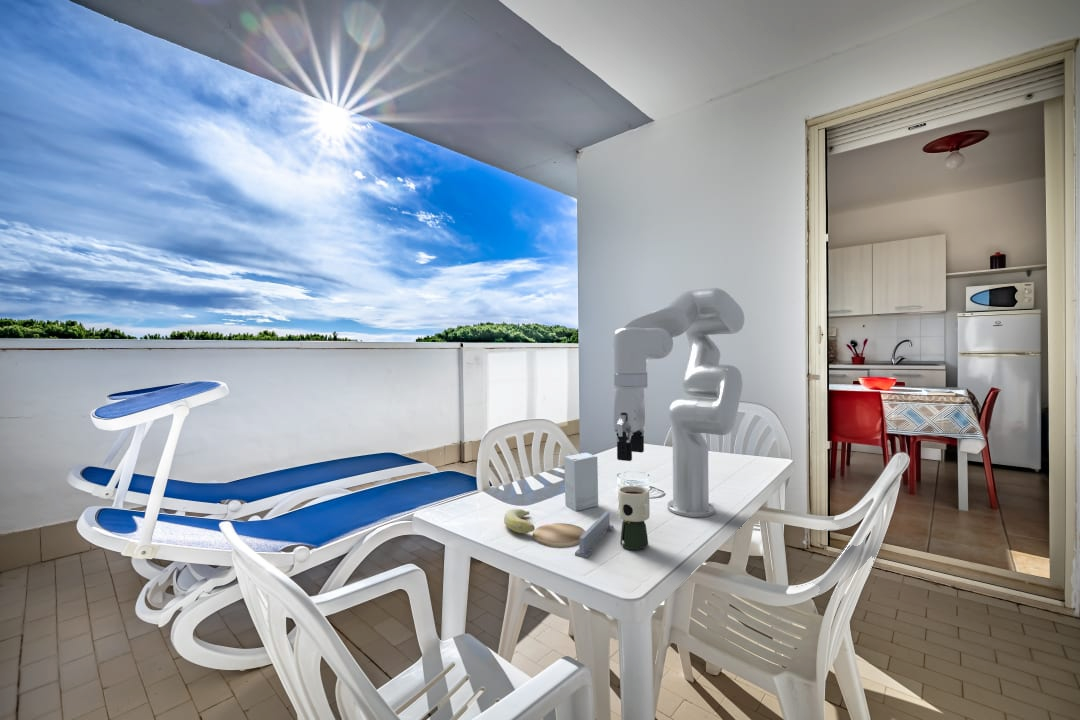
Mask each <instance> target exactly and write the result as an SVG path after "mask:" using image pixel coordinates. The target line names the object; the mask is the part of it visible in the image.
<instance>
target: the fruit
mask: <svg viewBox="0 0 1080 720" xmlns="http://www.w3.org/2000/svg"><path fill="white" fill-rule="evenodd" d="M528 515H530V511H529V510H528V511H527V510H525V509H521V508H512V509H509V510H507V511H506V512H505V513H504V516H503V522H504V523H503V524H504V525H505V527H506V528H508V529H509V530H511V531H513V532H516V533H519V534H524V535H525V534H528V533H533V532H534V530H535V529H536V528H535V525H534V524H532V522H530V521H528V520H526V519H523V518H524V517H526V516H528Z"/></svg>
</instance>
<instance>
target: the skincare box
mask: <svg viewBox="0 0 1080 720" xmlns="http://www.w3.org/2000/svg"><path fill="white" fill-rule="evenodd" d="M563 459H564V462H563V464H564V498H565V499H564V503H565V506H566V507H568V508H569V509H571V510H573V511H575V512H577V511H581V510H582V511H583V510H585V509H590V508H594V507H598V506H599V479H598V478H599V476H598V475H599V474H598V466H599V465H598V456H597V455H594V454H591V453H588V452H581V453H577V454H572V455H566V456H564V457H563Z"/></svg>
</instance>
